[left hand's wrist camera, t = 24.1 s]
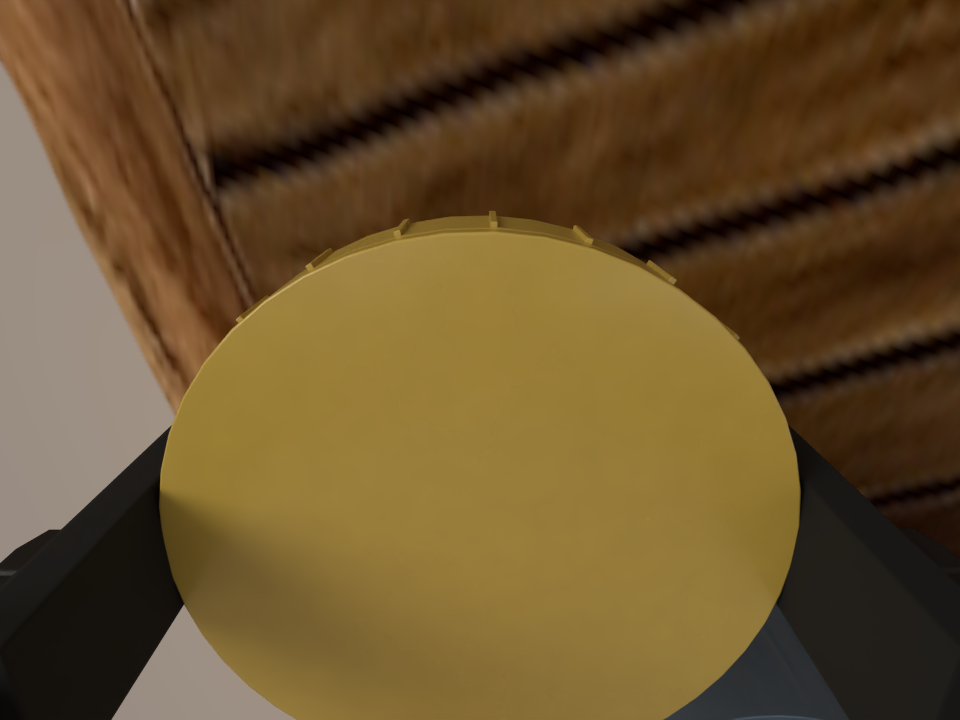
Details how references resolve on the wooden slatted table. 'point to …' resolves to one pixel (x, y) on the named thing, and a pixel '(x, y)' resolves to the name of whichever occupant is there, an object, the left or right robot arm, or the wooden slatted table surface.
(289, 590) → the lid
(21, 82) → the wooden slatted table surface
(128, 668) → the left robot arm
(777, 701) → the jar
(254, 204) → the wooden slatted table surface
